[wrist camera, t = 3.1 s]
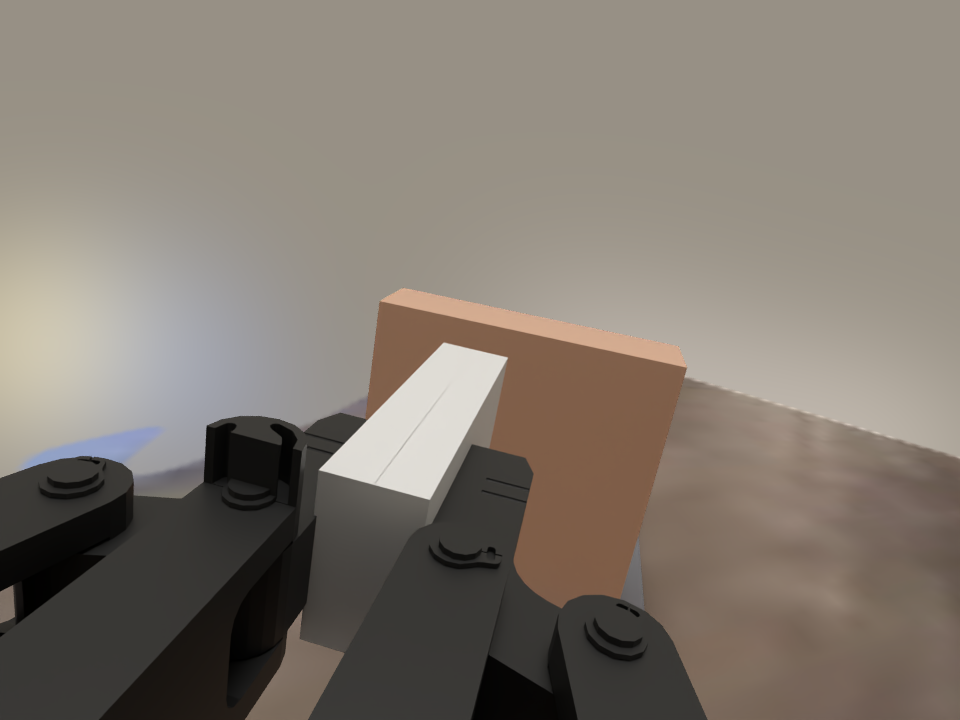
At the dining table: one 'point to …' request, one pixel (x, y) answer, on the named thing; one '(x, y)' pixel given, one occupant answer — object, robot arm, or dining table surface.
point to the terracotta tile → (554, 427)
